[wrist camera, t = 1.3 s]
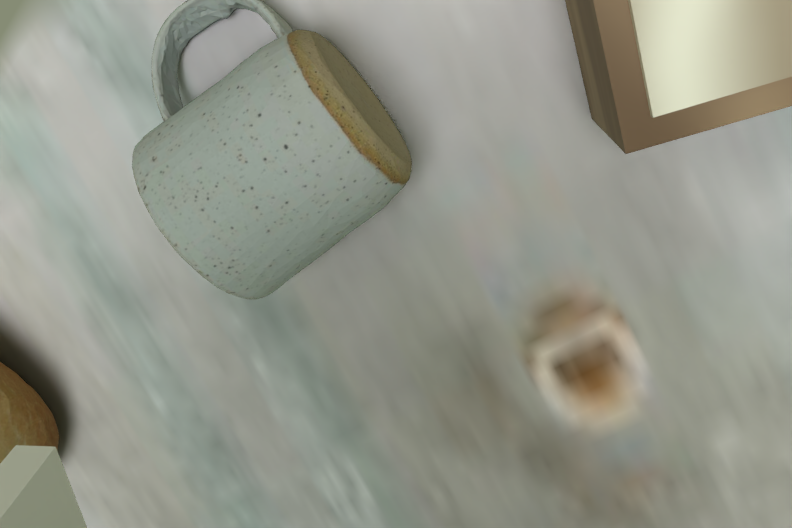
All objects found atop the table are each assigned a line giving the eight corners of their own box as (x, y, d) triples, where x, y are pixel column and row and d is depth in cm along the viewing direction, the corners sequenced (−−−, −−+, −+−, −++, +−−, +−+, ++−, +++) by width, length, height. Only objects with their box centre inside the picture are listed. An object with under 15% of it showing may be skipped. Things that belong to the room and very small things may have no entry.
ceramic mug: (430, 152, 30) (421, 205, 23) (288, 259, 32) (240, 337, 25) (264, -63, 27) (197, -79, 20) (123, 70, 30) (17, 98, 23)
